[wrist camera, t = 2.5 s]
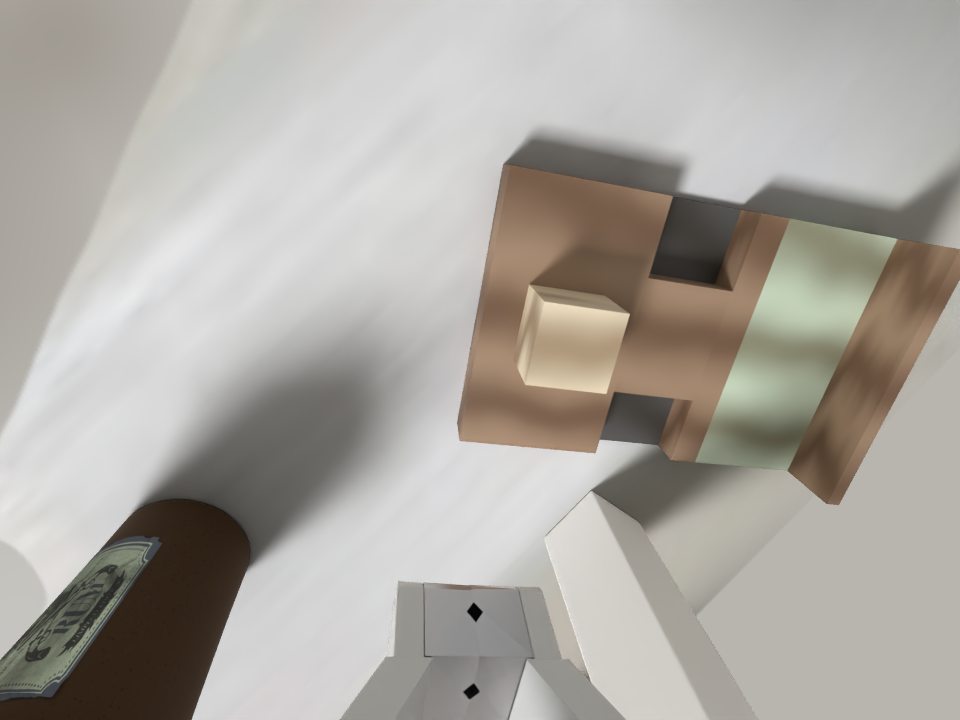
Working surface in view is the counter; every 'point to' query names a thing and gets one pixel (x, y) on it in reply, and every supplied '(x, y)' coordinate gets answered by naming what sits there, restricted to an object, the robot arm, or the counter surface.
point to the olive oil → (133, 622)
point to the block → (569, 339)
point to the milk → (637, 621)
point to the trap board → (704, 328)
